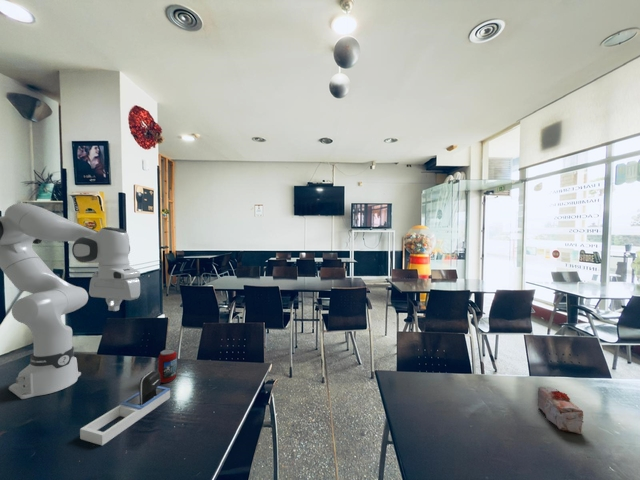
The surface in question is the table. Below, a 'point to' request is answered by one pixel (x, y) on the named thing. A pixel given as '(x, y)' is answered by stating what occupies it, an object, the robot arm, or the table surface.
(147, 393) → the battery charger
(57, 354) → the robot arm
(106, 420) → the tray
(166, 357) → the beverage can
